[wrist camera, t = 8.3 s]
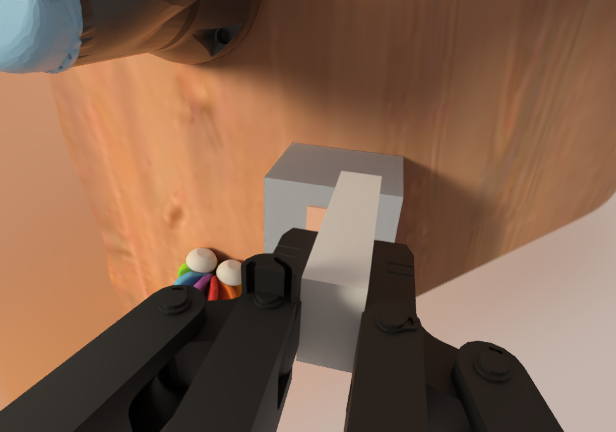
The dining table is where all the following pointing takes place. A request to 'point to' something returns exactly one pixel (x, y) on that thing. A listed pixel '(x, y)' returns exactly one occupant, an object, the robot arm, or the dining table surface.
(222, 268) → the rainbow disc toy
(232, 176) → the dining table surface
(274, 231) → the socket block
